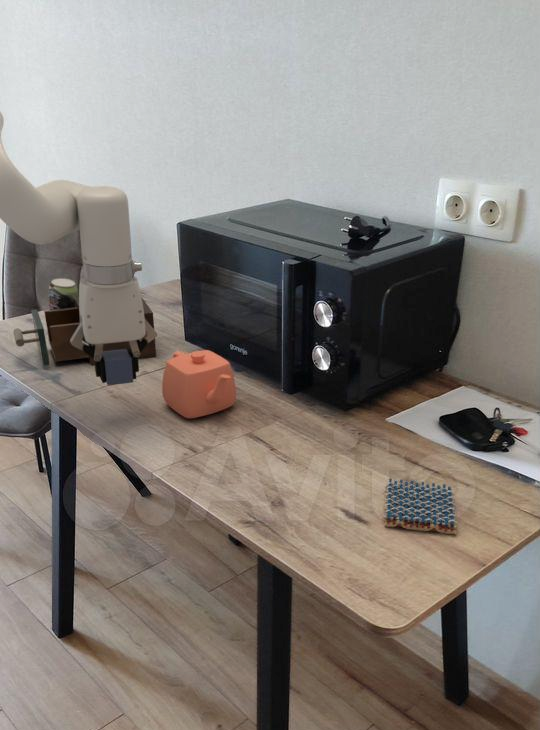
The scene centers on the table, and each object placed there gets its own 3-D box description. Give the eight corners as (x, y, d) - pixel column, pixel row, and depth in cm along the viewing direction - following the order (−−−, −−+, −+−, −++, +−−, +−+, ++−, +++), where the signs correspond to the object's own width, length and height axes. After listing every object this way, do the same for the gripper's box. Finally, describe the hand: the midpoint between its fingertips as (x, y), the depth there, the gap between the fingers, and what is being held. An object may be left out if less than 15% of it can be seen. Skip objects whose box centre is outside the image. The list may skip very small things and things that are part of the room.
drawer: (21, 369, 139) (14, 331, 135) (16, 348, 148) (9, 312, 144) (106, 358, 144) (102, 321, 140) (96, 338, 153) (92, 303, 149)
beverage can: (51, 328, 160) (43, 276, 153) (84, 328, 161) (78, 275, 154) (47, 339, 155) (38, 285, 148) (81, 338, 155) (74, 284, 149)
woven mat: (381, 529, 99) (382, 517, 97) (383, 487, 107) (385, 476, 106) (457, 537, 97) (459, 526, 96) (453, 495, 106) (455, 484, 105)
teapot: (202, 382, 137) (200, 332, 132) (256, 418, 125) (257, 364, 120) (150, 397, 131) (146, 345, 126) (202, 436, 120) (200, 380, 114)
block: (107, 385, 118) (105, 361, 116) (102, 375, 122) (100, 351, 119) (133, 382, 120) (131, 358, 117) (127, 372, 123) (126, 348, 121)
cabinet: (91, 365, 143) (85, 320, 138) (81, 343, 153) (75, 300, 148) (156, 356, 148) (153, 312, 142) (142, 335, 157) (139, 293, 152)
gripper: (155, 261, 116) (160, 363, 126) (50, 268, 111) (64, 375, 121) (167, 274, 111) (171, 380, 121) (56, 283, 105) (70, 393, 115)
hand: (117, 376), depth 121 cm, fingers closed on block, 4 cm apart
